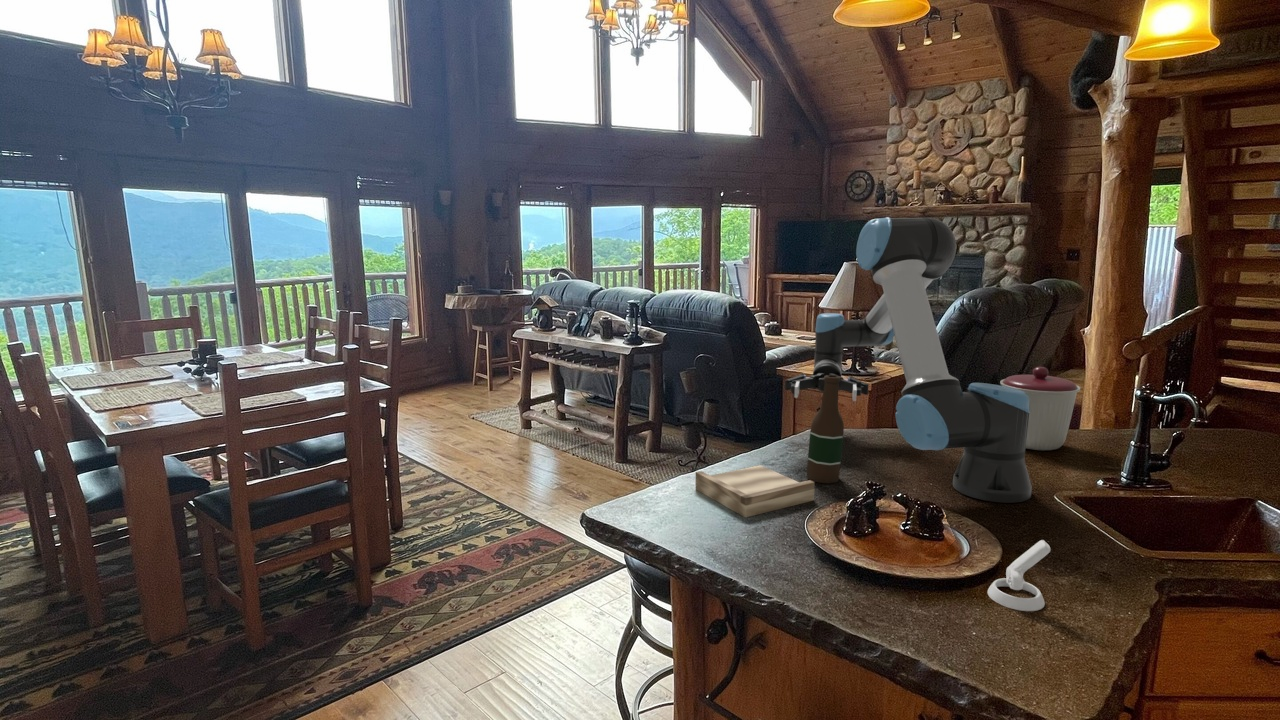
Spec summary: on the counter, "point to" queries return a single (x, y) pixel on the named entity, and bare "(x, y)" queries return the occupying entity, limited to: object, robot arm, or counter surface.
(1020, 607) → the white ring with handle
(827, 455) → the beer bottle
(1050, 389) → the canister
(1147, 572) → the counter surface
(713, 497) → the wooden tray
